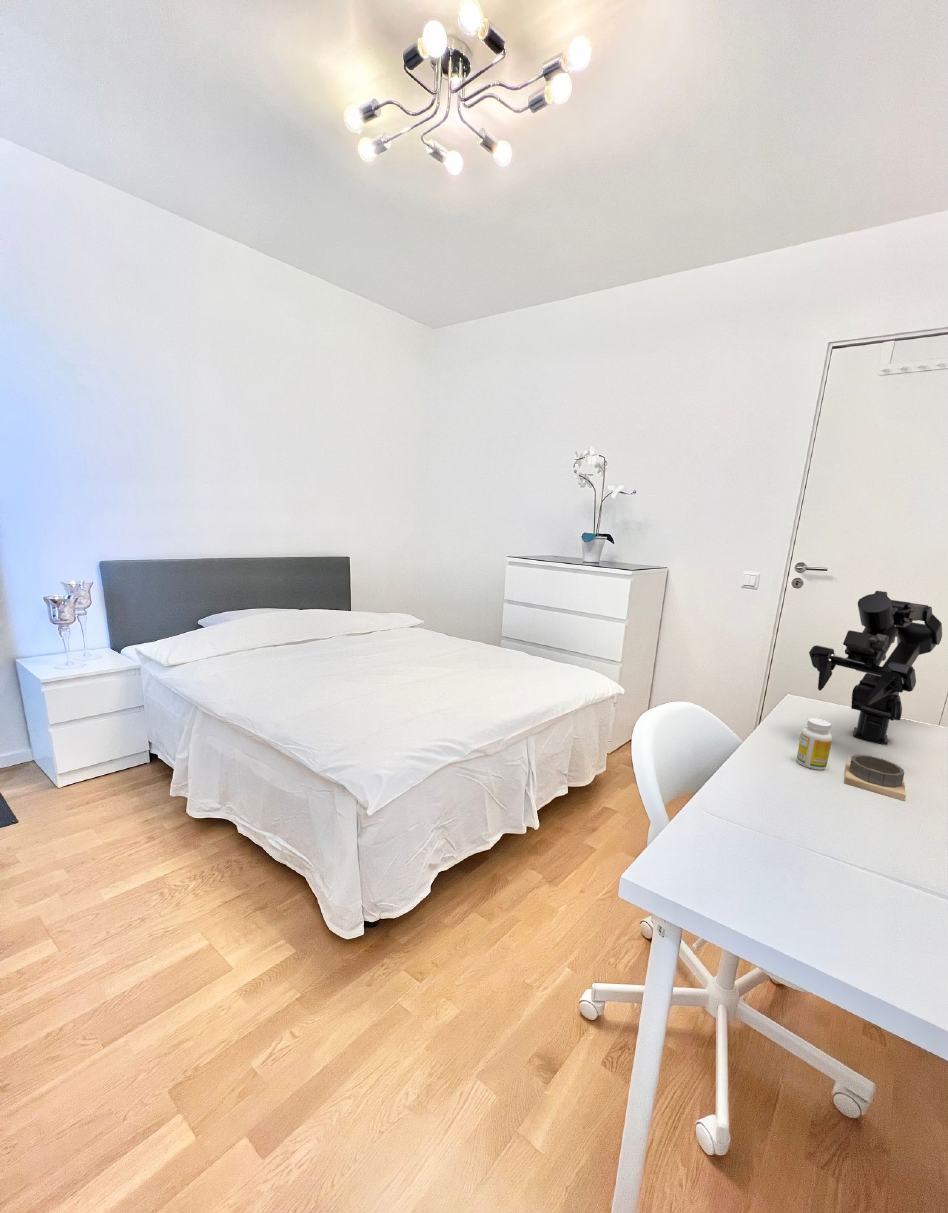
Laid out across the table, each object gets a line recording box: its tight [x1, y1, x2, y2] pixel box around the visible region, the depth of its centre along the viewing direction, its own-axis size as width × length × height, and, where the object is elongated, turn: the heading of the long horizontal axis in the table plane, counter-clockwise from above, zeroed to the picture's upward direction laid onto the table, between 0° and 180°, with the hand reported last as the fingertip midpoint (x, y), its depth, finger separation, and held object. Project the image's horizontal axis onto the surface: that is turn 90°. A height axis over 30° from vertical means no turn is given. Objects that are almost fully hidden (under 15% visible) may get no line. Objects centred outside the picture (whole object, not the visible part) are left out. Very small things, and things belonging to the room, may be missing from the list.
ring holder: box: [844, 754, 907, 802], centre depth 101 cm, size 10×9×4 cm
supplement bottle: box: [796, 717, 833, 771], centre depth 107 cm, size 5×5×10 cm
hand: (842, 696), depth 109 cm, fingers open, 9 cm apart
